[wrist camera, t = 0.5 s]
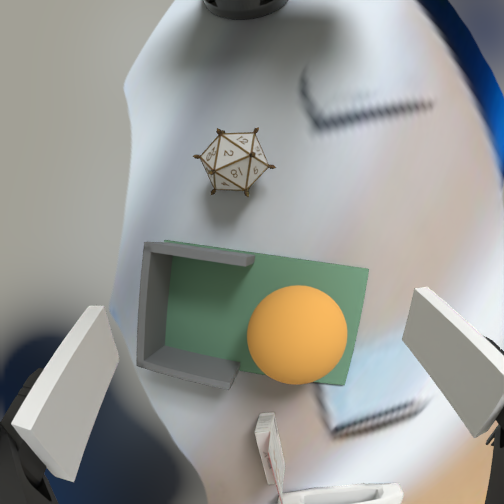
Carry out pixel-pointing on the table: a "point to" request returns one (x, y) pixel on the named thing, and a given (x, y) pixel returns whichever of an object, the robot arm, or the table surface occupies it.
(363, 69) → the table surface
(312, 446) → the table surface
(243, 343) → the pitch
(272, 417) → the ink cartridge box
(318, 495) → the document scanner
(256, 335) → the ball
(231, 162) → the game die
